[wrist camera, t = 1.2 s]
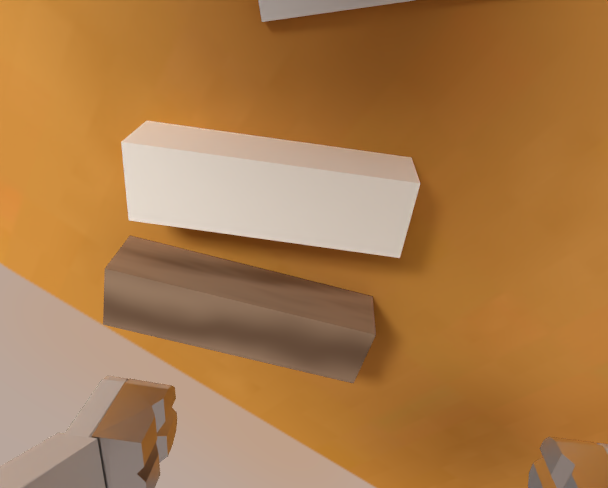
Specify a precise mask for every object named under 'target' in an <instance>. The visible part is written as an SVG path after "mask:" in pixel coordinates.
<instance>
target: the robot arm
mask: <svg viewBox="0 0 608 488" xmlns="http://www.w3.org/2000/svg"><path fill="white" fill-rule="evenodd" d="M175 399H176V396H175V387H173V386H171V385H165V384H159V383H153V382H147V381H141V380H135V379H126V378H120V377H114V376H106V377H105V378H104V379H102V380H101V381H100V383H99V384H98V386H97V387H96V389H95V390H94V392H93V393H92V394H91V396H90V397H89V399H88V400H87V402H86V403H85V405H84V406H83V407H82V409H81V410H80V412H79V413H78V415H77V416H76V418H75V419H74V421H73V422H72V423H71V425H70V426H69V428H68V429H67V431H66V432H65V433H56V434H55V435H53V436H51V437H50V438H48V439H46V440H44V441H43V442H41V443H40V444H38V445H36V446H35V447H33V448H31V449H29V450H27V451H26V452H24V453H22V454H21V455H19V456H17V457H16V458H14V459H12V460H10V461H9V462H7V463H5V464H4V465H2V466H0V488H155V486H156V483H157V481H158V479H159V476H160V467H159V466H160V465H159V463H160V462H161V461H162V460H163V459H165V458H166V457H168V455H169V452H170V450H171V447H172V445H173V441H174V437H175V433H176V426H177V413H176V411H175V410H174V409H173V408H172V405H173V403H174V401H175ZM540 450H541V452H542V455H543V457H542V458H540V459H539V460H537V461H535V462H534V463H533V465H532V467H531V470H530V472H529V483H528V488H608V444H602V443H594V442H587V441H579V440H571V439H563V438H555V437H548V438H546V439H545V440H544V441H543V443H542V445H541V447H540Z"/></svg>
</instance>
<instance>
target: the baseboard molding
mask: <svg viewBox="0 0 608 488" xmlns="http://www.w3.org/2000/svg"><path fill="white" fill-rule="evenodd" d="M258 1H259V7H260V14H261V20H262V22H266V21H273V20H280V19H287V18H294V17H301V16H308V15H315V14H322V13H329V12H336V11H343V10H351V9H358V8H365V7H372V6H379V5H386V4H393V3H400V2H407V1H414V0H258Z"/></svg>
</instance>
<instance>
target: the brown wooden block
mask: <svg viewBox="0 0 608 488" xmlns="http://www.w3.org/2000/svg"><path fill="white" fill-rule="evenodd" d="M103 325H108V326H112V327H116V328H120V329H125V330H129V331H133V332H137V333H142V334H146V335H150V336H154V337H159V338H163V339H167V340H171V341H176V342H180V343H184V344H188V345H193V346H197V347H201V348H205V349H210V350H214V351H218V352H222V353H227V354H231V355H235V356H239V357H243V358H248V359H252V360H256V361H260V362H265V363H269V364H273V365H277V366H282V367H286V368H290V369H294V370H299V371H303V372H307V373H311V374H316V375H320V376H324V377H328V378H333V379H337V380H341V381H345V382H350V383H354V381H355V379H356V377H357V375H358V372H359V370H360V368H361V366H362V364H363V362H364V359H365V357H366V355H367V353H368V351H369V349H370V347H371V344H372V342H373V340H374V338H375V336H376V330H375V318H374V307H373V296H369V295H365V294H361V293H357V292H353V291H349V290H345V289H341V288H337V287H333V286H329V285H325V284H321V283H317V282H313V281H309V280H305V279H301V278H297V277H293V276H289V275H285V274H281V273H277V272H273V271H269V270H265V269H261V268H257V267H253V266H249V265H245V264H241V263H237V262H233V261H229V260H225V259H221V258H217V257H213V256H209V255H205V254H201V253H197V252H193V251H189V250H185V249H181V248H178V247H174V246H170V245H166V244H162V243H158V242H154V241H150V240H146V239H142V238H138V237H134V236H129V238H128V239H127V240H126V241H125V243H124V244H123V245H122V247H121V248H120V249H119V251H118V252H117V253H116V255H115V256H114V257H113V259H112V260H111V261H110V263H109V264H108V265H107V266H106V268H105V282H104V317H103Z"/></svg>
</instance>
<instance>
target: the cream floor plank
mask: <svg viewBox="0 0 608 488" xmlns="http://www.w3.org/2000/svg"><path fill="white" fill-rule="evenodd" d="M121 144H122V155H123V165H124V176H125V186H126V197H127V207H128V218H129V220H130V221H137V222H144V223H152V224H159V225H166V226H173V227H180V228H188V229H195V230H202V231H209V232H216V233H224V234H231V235H238V236H245V237H252V238H260V239H267V240H274V241H281V242H288V243H296V244H303V245H310V246H317V247H324V248H332V249H339V250H346V251H353V252H360V253H368V254H375V255H382V256H389V257H396V258H400V255H401V252H402V248H403V245H404V241H405V237H406V234H407V230H408V227H409V223H410V219H411V216H412V212H413V208H414V205H415V201H416V198H417V194H418V190H419V187H420V181H419V178H418V175H417V172H416V169H415V166H414V163H413V160H412V157H405V156H398V155H390V154H383V153H376V152H369V151H362V150H354V149H347V148H340V147H333V146H326V145H319V144H311V143H304V142H297V141H290V140H283V139H276V138H268V137H261V136H254V135H247V134H240V133H232V132H225V131H218V130H211V129H204V128H197V127H189V126H182V125H175V124H168V123H161V122H154V121H145V122H144V123H143V124H142V125H141V126H140V127H138V128H137V129H136V130H135V131H134V132H132V133H131V134H130V135H129V136H128V137H126V138H125V139H124V140H123V141H122V142H121Z"/></svg>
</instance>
